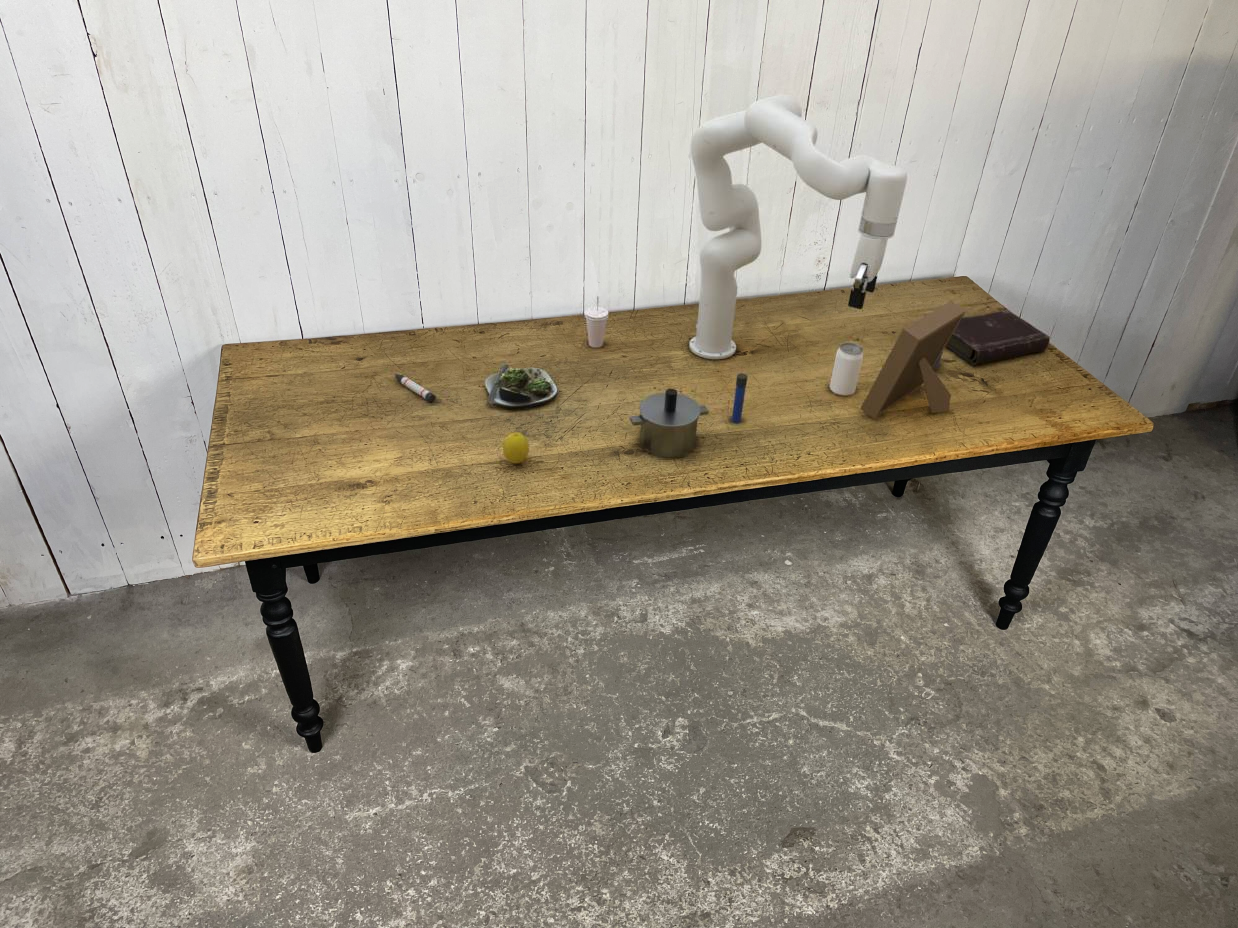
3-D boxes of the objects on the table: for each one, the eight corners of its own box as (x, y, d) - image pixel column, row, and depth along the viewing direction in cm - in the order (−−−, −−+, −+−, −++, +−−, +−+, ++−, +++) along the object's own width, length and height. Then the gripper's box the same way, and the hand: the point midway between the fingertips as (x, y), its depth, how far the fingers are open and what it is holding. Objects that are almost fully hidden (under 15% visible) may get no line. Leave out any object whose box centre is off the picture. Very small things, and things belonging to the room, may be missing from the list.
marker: (436, 400, 209) (435, 393, 208) (429, 403, 208) (428, 396, 207) (398, 376, 217) (397, 369, 216) (392, 379, 216) (390, 372, 215)
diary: (1046, 352, 238) (1052, 336, 235) (975, 368, 230) (980, 351, 227) (998, 323, 252) (1003, 307, 249) (929, 336, 244) (934, 320, 241)
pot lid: (631, 401, 197) (632, 380, 194) (687, 393, 201) (689, 372, 197) (651, 434, 187) (652, 412, 183) (709, 425, 190) (711, 403, 187)
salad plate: (473, 375, 219) (472, 359, 216) (541, 364, 224) (541, 349, 221) (491, 415, 204) (490, 399, 202) (563, 403, 210) (563, 387, 207)
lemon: (504, 455, 192) (502, 426, 187) (529, 455, 192) (528, 425, 188) (503, 471, 188) (501, 441, 183) (529, 470, 188) (528, 440, 183)
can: (855, 398, 216) (865, 356, 209) (829, 394, 217) (838, 352, 210) (854, 385, 221) (864, 343, 214) (829, 381, 222) (838, 340, 215)
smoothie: (611, 341, 236) (612, 294, 227) (602, 352, 231) (604, 304, 222) (589, 336, 237) (589, 289, 229) (580, 347, 232) (581, 299, 224)
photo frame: (859, 412, 211) (881, 320, 196) (905, 381, 224) (929, 292, 209) (913, 438, 203) (940, 344, 188) (958, 404, 215) (987, 314, 200)
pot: (621, 432, 201) (623, 401, 196) (693, 421, 205) (696, 391, 200) (639, 463, 191) (640, 432, 186) (714, 451, 196) (717, 420, 191)
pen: (729, 418, 207) (735, 374, 199) (738, 417, 208) (744, 372, 200) (733, 424, 205) (739, 379, 198) (742, 422, 206) (749, 377, 198)
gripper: (870, 210, 192) (855, 281, 202) (849, 235, 180) (833, 310, 190) (904, 217, 189) (886, 288, 200) (884, 243, 177) (867, 318, 187)
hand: (860, 299), depth 195 cm, fingers open, 9 cm apart
